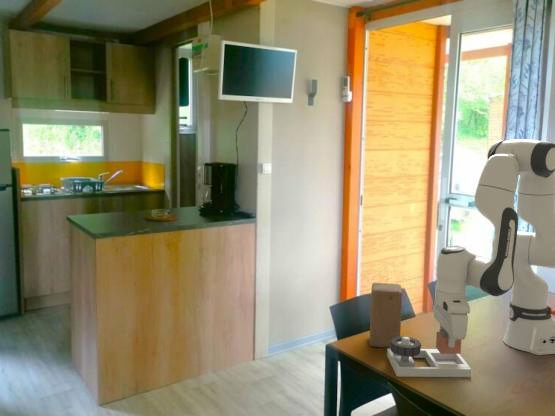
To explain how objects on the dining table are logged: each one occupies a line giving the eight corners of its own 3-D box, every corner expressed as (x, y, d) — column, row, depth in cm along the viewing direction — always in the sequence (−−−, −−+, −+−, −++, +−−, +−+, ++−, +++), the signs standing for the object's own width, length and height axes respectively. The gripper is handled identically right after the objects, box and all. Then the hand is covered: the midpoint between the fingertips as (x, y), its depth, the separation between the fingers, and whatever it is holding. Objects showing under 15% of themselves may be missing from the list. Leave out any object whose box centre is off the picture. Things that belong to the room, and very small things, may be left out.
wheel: (415, 344, 166) (416, 336, 166) (423, 356, 157) (423, 347, 157) (388, 344, 166) (388, 336, 166) (394, 356, 157) (394, 347, 157)
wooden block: (399, 349, 174) (402, 292, 172) (369, 347, 176) (371, 290, 174) (398, 338, 184) (401, 283, 181) (370, 336, 186) (372, 281, 183)
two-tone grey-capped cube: (455, 347, 164) (456, 328, 163) (460, 353, 159) (461, 334, 158) (435, 347, 164) (436, 328, 163) (440, 353, 159) (441, 334, 158)
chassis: (454, 356, 170) (456, 330, 168) (470, 377, 155) (472, 348, 154) (387, 355, 170) (388, 329, 168) (396, 376, 155) (398, 347, 154)
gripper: (429, 289, 170) (427, 329, 171) (450, 309, 149) (447, 355, 151) (449, 289, 170) (446, 330, 171) (472, 310, 149) (469, 356, 151)
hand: (447, 342), depth 161 cm, fingers closed on two-tone grey-capped cube, 5 cm apart
